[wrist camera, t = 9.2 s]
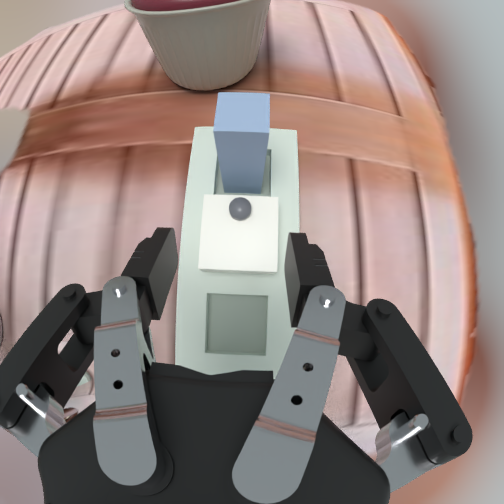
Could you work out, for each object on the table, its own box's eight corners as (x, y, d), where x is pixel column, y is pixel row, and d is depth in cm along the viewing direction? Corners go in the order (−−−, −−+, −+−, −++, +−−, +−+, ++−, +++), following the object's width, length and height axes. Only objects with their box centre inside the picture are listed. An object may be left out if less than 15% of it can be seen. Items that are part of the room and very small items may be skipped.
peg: (224, 192, 30) (213, 131, 18) (226, 161, 31) (218, 92, 19) (260, 194, 30) (269, 132, 18) (261, 162, 31) (269, 93, 19)
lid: (202, 271, 27) (196, 267, 23) (207, 203, 28) (202, 191, 25) (274, 274, 27) (278, 271, 24) (275, 205, 28) (279, 193, 25)
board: (180, 372, 27) (175, 378, 25) (198, 137, 32) (195, 126, 30) (290, 377, 28) (294, 383, 25) (293, 141, 32) (296, 130, 30)
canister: (158, 124, 33) (105, -2, 12) (151, 52, 36) (122, -41, 15) (286, 95, 34) (311, -33, 13) (252, 31, 37) (256, -65, 16)
